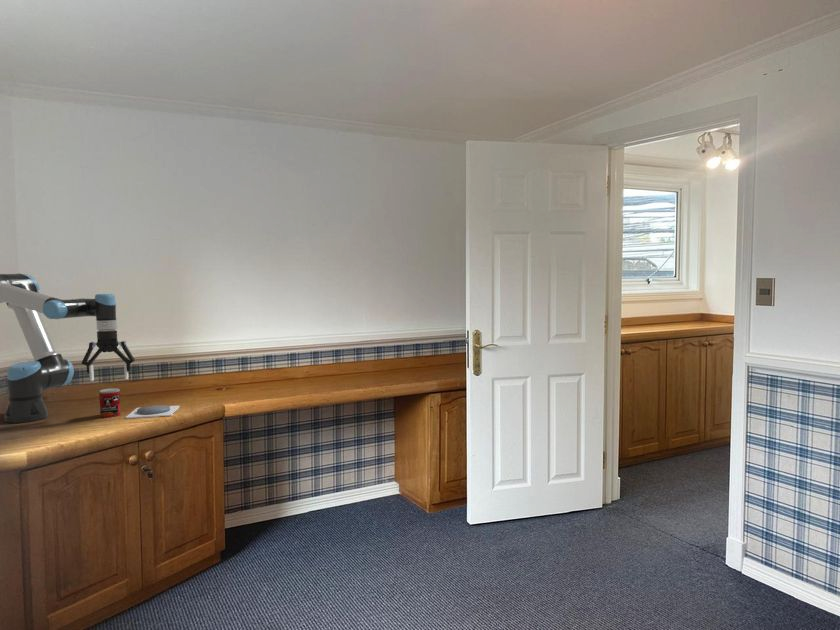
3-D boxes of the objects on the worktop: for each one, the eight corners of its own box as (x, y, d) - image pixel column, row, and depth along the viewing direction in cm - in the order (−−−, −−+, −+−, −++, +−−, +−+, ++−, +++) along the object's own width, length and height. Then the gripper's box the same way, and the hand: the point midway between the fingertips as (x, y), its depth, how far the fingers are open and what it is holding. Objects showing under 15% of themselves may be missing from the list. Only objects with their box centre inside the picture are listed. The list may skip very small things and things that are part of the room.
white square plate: (125, 418, 246) (125, 414, 246) (137, 409, 263) (136, 405, 263) (171, 416, 249) (171, 411, 249) (179, 406, 267) (179, 402, 267)
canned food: (98, 418, 247) (97, 392, 246) (103, 413, 255) (101, 388, 254) (118, 416, 249) (117, 391, 248) (122, 412, 257) (121, 387, 256)
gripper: (71, 332, 243) (74, 383, 245) (136, 329, 248) (138, 379, 250) (77, 330, 251) (80, 379, 252) (140, 328, 256) (143, 376, 257)
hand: (109, 380), depth 251 cm, fingers open, 13 cm apart
